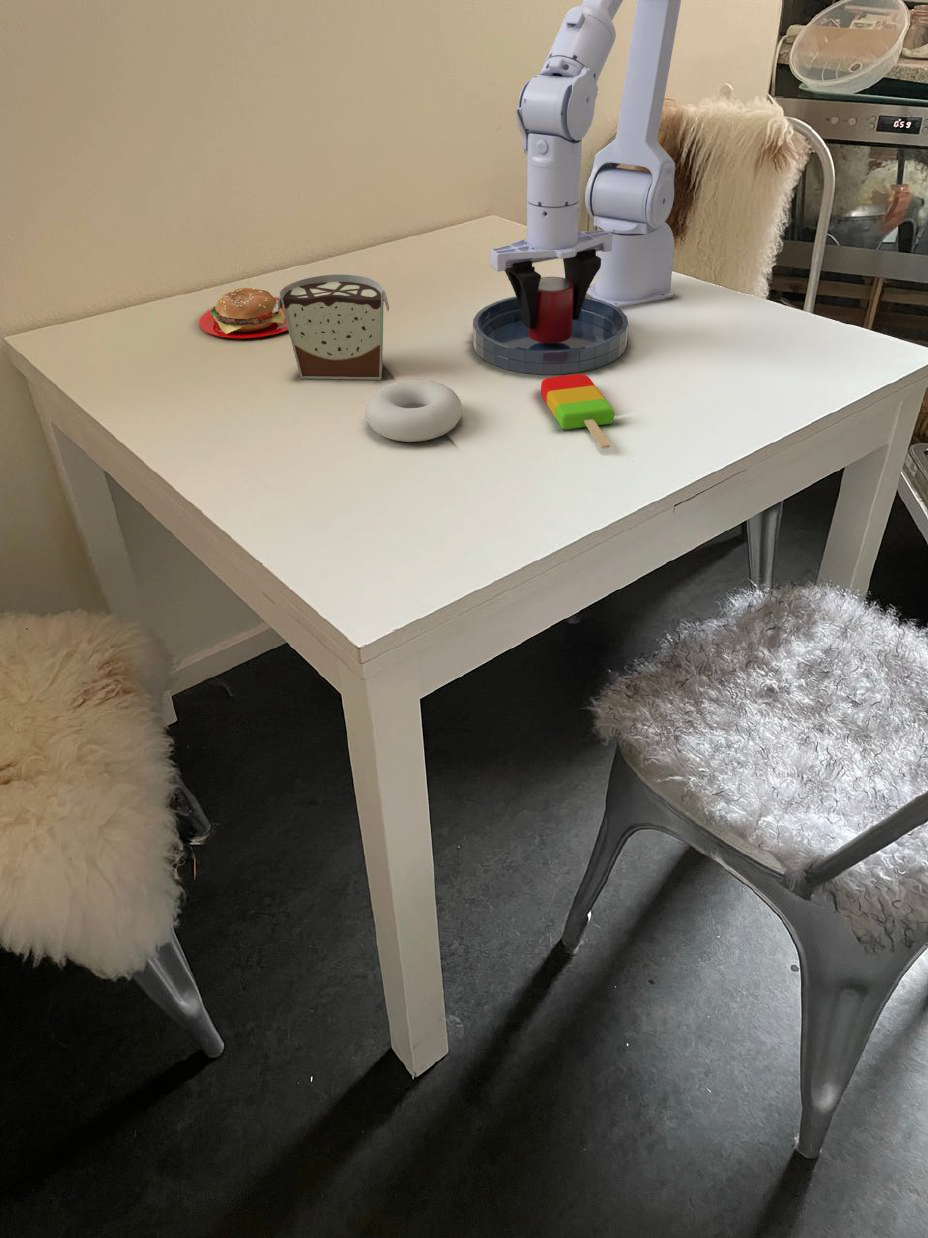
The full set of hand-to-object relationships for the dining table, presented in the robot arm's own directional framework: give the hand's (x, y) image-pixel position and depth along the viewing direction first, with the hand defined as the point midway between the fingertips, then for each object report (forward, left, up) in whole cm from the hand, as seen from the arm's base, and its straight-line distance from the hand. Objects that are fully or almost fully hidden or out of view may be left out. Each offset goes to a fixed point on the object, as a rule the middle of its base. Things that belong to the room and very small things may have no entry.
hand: (550, 321), depth 113 cm
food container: (+24, -5, -3) cm, 25 cm away
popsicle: (+6, +19, -3) cm, 20 cm away
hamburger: (+30, -25, -3) cm, 39 cm away
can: (0, 0, -2) cm, 2 cm away
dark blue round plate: (0, 0, -3) cm, 3 cm away
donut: (+22, +12, -3) cm, 25 cm away
